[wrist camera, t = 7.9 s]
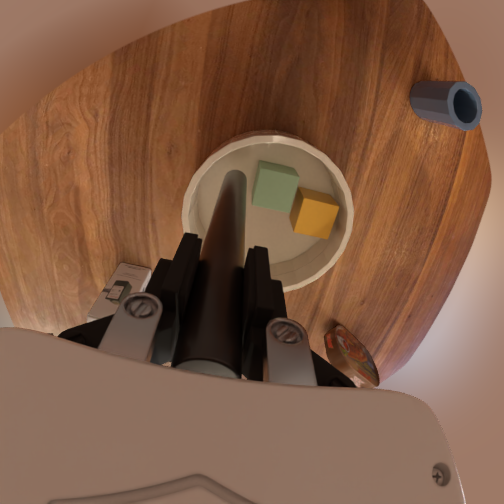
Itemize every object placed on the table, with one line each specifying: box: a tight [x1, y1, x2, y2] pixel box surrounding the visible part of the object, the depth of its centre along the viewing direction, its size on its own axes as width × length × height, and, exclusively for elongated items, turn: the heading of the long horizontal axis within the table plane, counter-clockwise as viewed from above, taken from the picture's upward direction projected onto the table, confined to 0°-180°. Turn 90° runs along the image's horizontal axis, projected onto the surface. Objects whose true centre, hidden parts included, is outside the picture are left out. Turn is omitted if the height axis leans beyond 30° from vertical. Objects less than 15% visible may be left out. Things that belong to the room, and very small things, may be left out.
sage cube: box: [252, 160, 300, 213], centre depth 30 cm, size 4×4×4 cm
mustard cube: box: [289, 187, 339, 240], centre depth 32 cm, size 4×4×4 cm
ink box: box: [87, 263, 151, 323], centre depth 35 cm, size 9×5×12 cm, turn 167°
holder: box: [410, 80, 482, 131], centre depth 23 cm, size 5×5×8 cm
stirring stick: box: [171, 170, 247, 379], centre depth 16 cm, size 2×2×20 cm
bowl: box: [181, 130, 354, 292], centre depth 31 cm, size 17×17×6 cm
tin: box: [324, 325, 380, 388], centre depth 42 cm, size 15×3×8 cm, turn 43°
